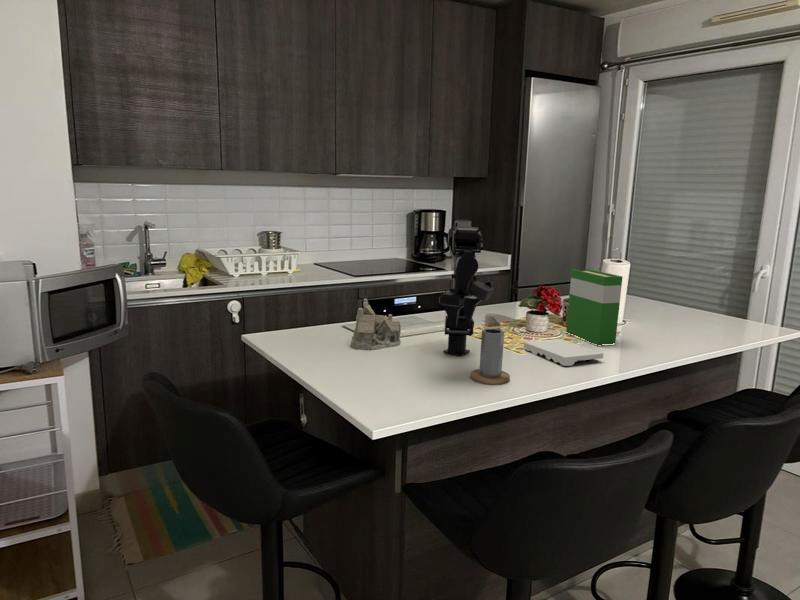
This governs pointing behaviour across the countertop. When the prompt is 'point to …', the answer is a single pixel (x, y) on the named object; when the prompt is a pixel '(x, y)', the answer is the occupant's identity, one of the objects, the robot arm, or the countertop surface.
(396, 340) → the ceramic cottage
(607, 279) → the hardback book
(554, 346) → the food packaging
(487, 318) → the architectural model
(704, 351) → the countertop surface
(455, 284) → the robot arm
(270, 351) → the countertop surface
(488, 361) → the steel sleeve
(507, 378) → the post stand
